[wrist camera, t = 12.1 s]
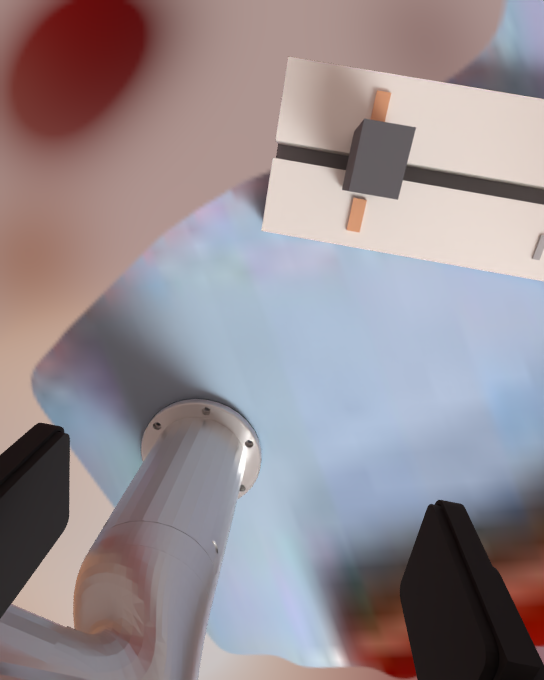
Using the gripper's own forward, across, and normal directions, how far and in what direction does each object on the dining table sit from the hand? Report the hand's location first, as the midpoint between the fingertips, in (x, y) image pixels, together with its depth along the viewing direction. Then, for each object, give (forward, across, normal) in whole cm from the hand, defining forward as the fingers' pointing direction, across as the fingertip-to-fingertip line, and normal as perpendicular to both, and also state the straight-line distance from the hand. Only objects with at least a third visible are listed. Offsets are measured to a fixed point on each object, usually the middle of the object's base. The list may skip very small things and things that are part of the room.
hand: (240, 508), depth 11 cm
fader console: (+30, -10, -10) cm, 33 cm away
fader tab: (+29, -4, -10) cm, 31 cm away
